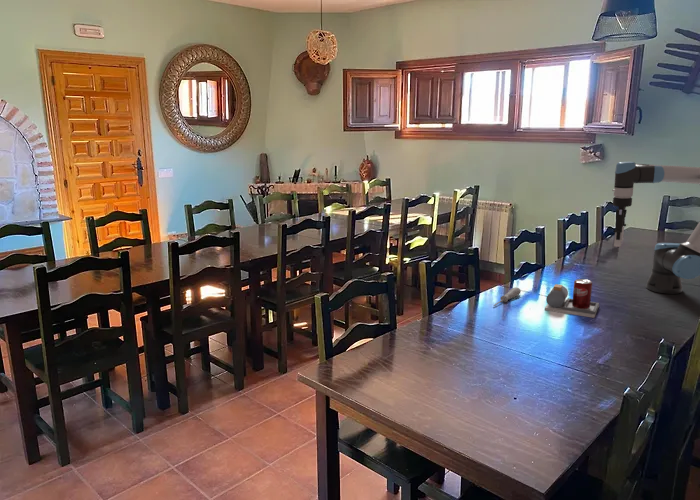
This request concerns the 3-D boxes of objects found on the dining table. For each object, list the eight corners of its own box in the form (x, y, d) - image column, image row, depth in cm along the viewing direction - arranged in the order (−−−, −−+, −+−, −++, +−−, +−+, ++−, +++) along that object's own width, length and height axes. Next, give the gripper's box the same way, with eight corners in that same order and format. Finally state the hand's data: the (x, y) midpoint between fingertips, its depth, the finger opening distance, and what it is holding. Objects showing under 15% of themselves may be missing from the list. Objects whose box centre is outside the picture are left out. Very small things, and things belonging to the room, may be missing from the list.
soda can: (582, 311, 223) (585, 284, 220) (568, 306, 229) (570, 280, 226) (593, 308, 226) (596, 282, 223) (579, 303, 233) (581, 277, 230)
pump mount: (598, 306, 231) (601, 286, 229) (594, 317, 218) (596, 296, 216) (551, 299, 241) (553, 280, 239) (544, 309, 228) (546, 289, 226)
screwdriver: (489, 310, 234) (487, 301, 234) (514, 294, 252) (512, 285, 251) (499, 310, 231) (497, 301, 230) (523, 294, 248) (521, 285, 248)
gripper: (615, 193, 243) (611, 237, 248) (610, 200, 222) (606, 248, 227) (633, 193, 239) (629, 238, 244) (630, 201, 218) (626, 250, 223)
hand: (618, 243), depth 236 cm, fingers open, 13 cm apart
